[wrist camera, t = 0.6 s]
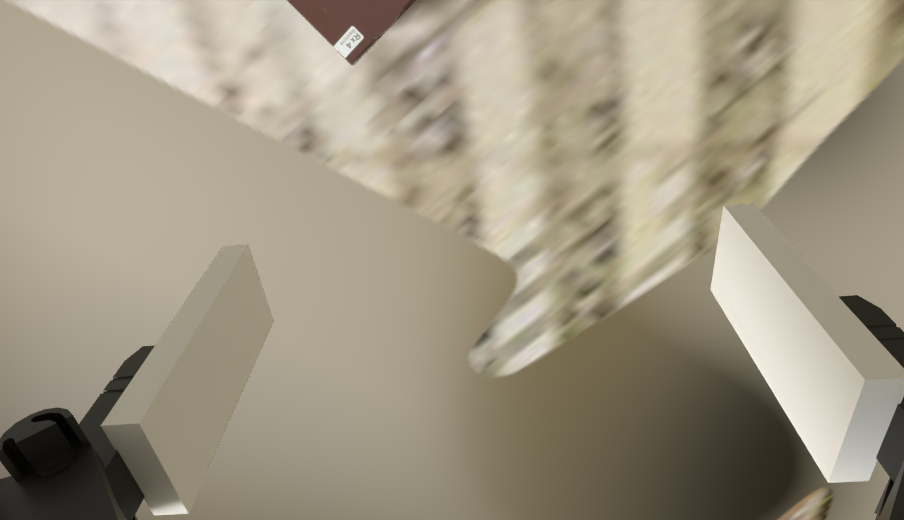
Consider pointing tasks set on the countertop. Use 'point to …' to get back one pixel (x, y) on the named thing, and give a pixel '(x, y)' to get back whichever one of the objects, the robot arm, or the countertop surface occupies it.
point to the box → (351, 22)
